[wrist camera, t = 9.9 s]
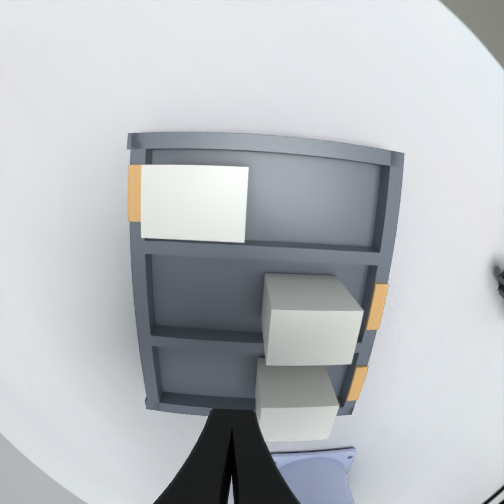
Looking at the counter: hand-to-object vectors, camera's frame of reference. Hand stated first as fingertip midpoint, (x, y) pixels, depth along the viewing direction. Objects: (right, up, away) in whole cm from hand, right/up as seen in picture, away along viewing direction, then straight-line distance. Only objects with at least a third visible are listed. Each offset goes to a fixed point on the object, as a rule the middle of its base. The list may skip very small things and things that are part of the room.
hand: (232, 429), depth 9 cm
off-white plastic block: (-2, +9, +7) cm, 11 cm away
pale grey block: (+3, -2, +10) cm, 11 cm away
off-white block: (+3, +3, +8) cm, 10 cm away
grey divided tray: (+1, +4, +10) cm, 10 cm away
